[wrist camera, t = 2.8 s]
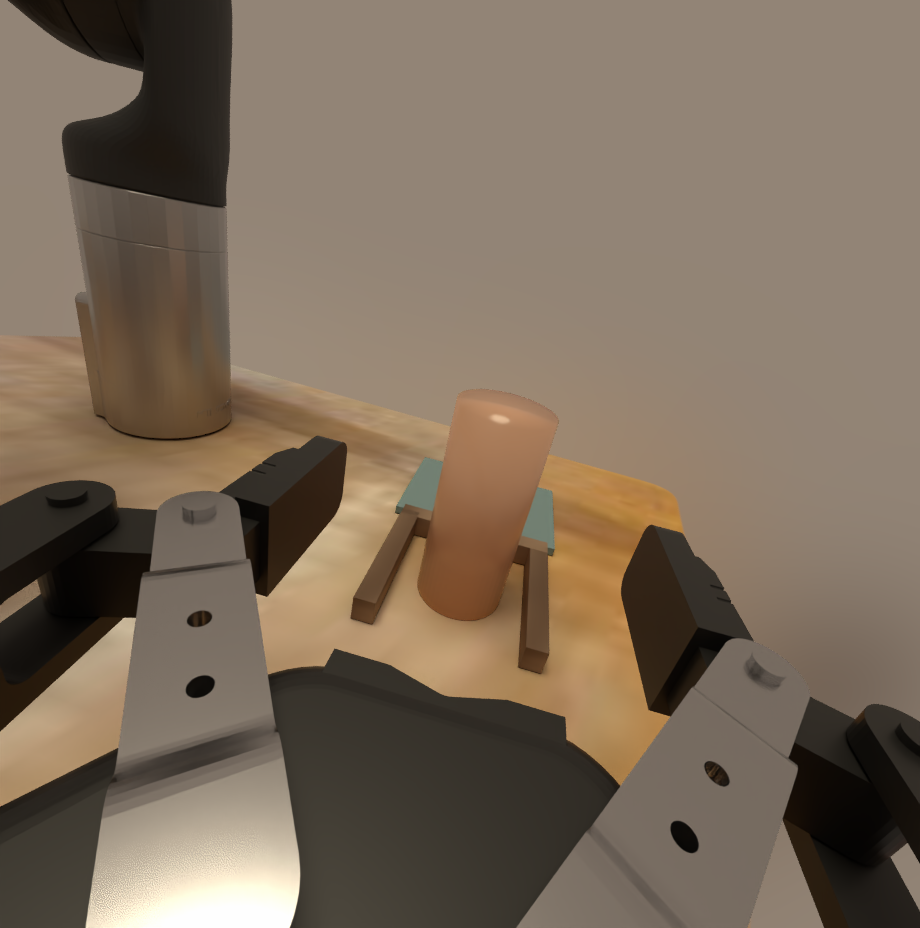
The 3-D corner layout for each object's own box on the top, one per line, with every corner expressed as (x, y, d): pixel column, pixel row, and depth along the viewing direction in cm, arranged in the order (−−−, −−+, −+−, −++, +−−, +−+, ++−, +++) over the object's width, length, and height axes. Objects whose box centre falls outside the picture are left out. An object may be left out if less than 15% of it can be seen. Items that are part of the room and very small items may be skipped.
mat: (395, 512, 33) (396, 505, 33) (424, 462, 41) (425, 457, 41) (552, 555, 33) (554, 549, 32) (550, 496, 41) (552, 491, 40)
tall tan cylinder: (407, 605, 25) (448, 410, 20) (428, 551, 30) (465, 382, 25) (495, 631, 25) (560, 439, 20) (503, 572, 30) (557, 405, 24)
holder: (350, 618, 24) (353, 597, 23) (402, 520, 33) (405, 503, 32) (540, 673, 23) (549, 653, 22) (541, 559, 32) (547, 542, 31)
